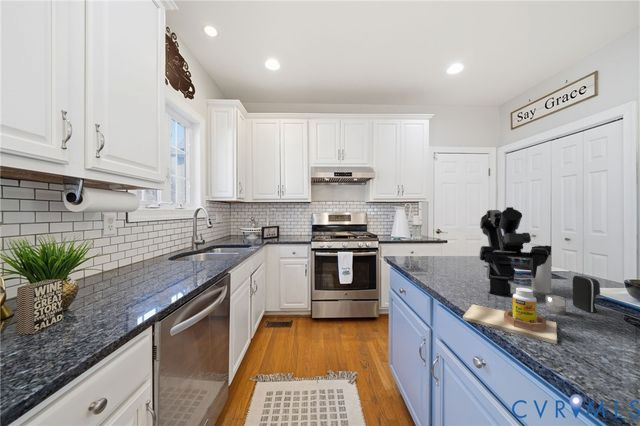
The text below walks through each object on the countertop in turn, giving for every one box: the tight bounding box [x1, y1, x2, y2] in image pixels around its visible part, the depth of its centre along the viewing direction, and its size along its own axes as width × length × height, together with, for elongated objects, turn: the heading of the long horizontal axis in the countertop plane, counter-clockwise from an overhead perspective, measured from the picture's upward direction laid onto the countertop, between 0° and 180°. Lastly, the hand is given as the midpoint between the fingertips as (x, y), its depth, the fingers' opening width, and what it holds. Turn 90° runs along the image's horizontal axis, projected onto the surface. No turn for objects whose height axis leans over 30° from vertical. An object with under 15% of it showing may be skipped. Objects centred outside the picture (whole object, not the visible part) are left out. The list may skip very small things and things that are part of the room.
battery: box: [572, 275, 601, 313], centre depth 87 cm, size 7×4×11 cm, turn 172°
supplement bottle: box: [512, 287, 538, 323], centre depth 75 cm, size 6×6×10 cm
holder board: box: [462, 303, 558, 345], centre depth 78 cm, size 22×14×3 cm, turn 47°
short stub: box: [545, 294, 567, 316], centre depth 85 cm, size 5×5×5 cm
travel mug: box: [531, 245, 552, 297], centre depth 104 cm, size 6×7×20 cm
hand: (516, 275), depth 82 cm, fingers open, 9 cm apart
